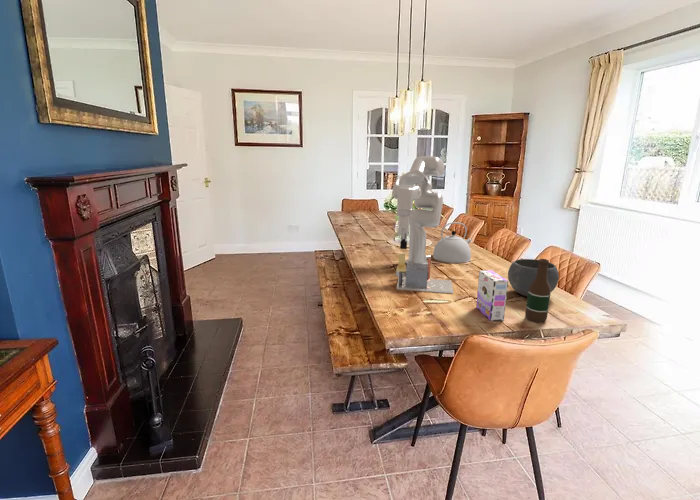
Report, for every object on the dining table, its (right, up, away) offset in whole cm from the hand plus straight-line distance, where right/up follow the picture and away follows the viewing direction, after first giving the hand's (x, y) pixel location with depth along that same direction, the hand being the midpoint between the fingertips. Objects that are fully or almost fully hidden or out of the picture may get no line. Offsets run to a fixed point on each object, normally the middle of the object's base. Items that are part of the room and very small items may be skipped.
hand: (403, 248), depth 189 cm
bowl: (+56, -22, -18) cm, 62 cm away
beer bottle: (+45, -28, -43) cm, 68 cm away
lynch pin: (+3, -15, -6) cm, 17 cm away
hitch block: (+9, -18, -6) cm, 21 cm away
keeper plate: (-2, -10, -7) cm, 13 cm away
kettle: (+37, -6, +44) cm, 58 cm away
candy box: (+29, -27, -38) cm, 55 cm away
